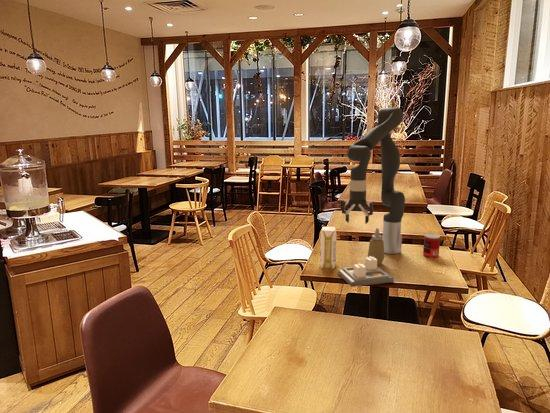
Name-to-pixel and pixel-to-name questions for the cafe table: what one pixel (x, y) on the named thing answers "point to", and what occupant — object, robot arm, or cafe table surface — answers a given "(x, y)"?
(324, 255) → the juice carton
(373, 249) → the squeeze bottle
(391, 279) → the grey tray
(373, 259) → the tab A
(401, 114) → the robot arm
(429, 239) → the canned food
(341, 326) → the cafe table surface
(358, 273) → the tab
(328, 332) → the cafe table surface
